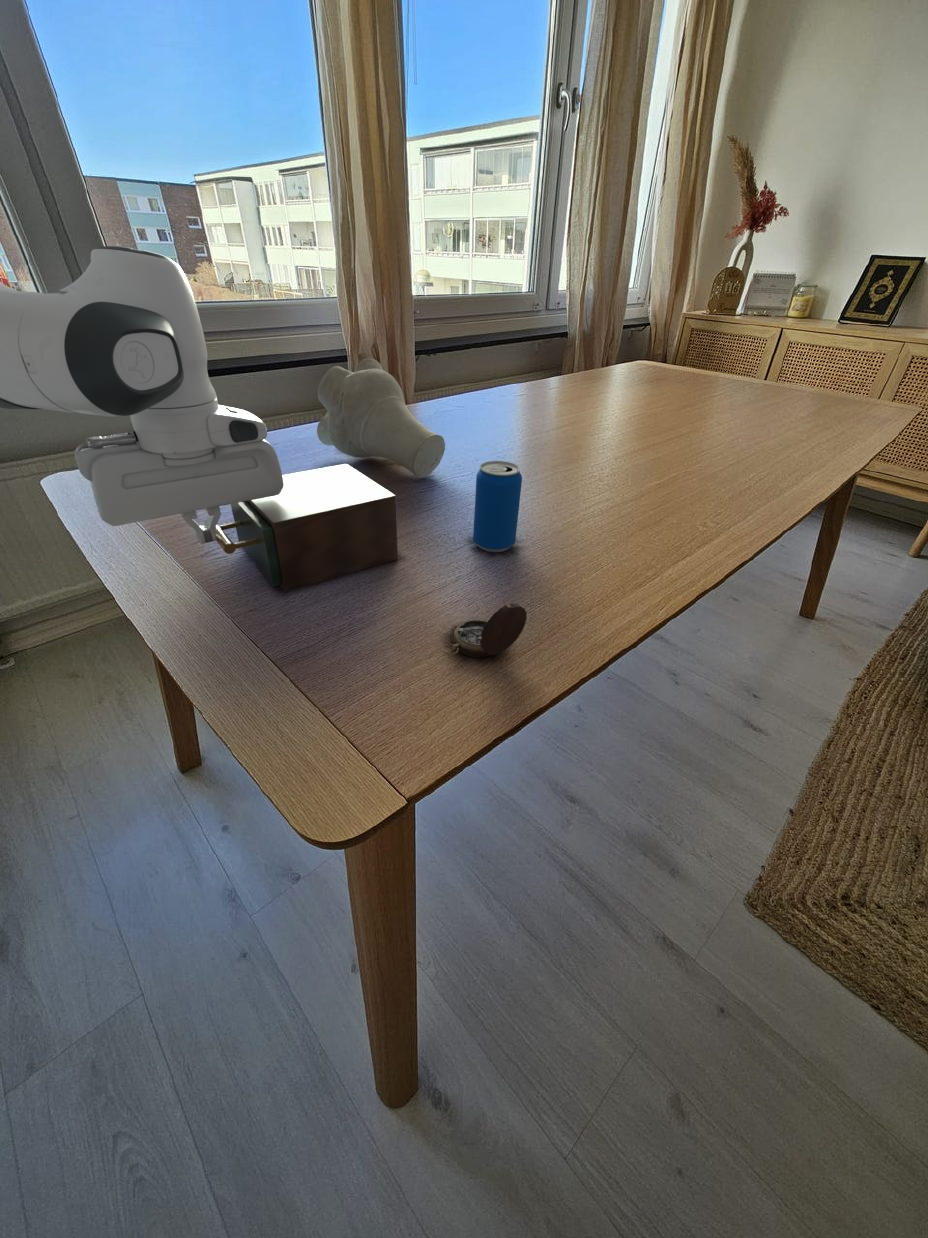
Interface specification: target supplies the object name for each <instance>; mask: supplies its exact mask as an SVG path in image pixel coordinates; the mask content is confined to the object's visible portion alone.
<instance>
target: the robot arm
mask: <svg viewBox="0 0 928 1238" xmlns="http://www.w3.org/2000/svg"><path fill="white" fill-rule="evenodd" d="M58 291H59V292H51V293H50V292H49V293H48V292H39V291H37V292H36V291H24V290H17V289H15V288H13V287H11V286H8V285H6V284H4V283H2V282H0V408H2V409H6V410H47V411H55V412H63V413H70V414H71V413H72V414H79V415H91V416H99V417H101V416H102V417H111V418H113V417H126V416H129V418H130V421H131V425H132V427H133V431H129V432H121V433H115V434H111V435H106V436H105V435H104V436H101V435H94V436H90V437H87V438H86V439H85V440H86V441H84V442H82V443H80V444H79V445H77V447H76V448H75V450H74V460H75V463H76V465H77V469H78V471H79V473H80V474H81V476H82V477H83V478H84V479H86V480H88V481H89V482H90V485H91V492H92V495H93V499H94V502H95V507H96V509H97V512H98V514H99V515H98V516H99V517H100V519H101V521H103V522H105V523H106V524H108V525H110V526H112V527H118V526H123V525H129V524H133V523H135V524H136V523H140V522H145V521H150V520H155V519H160V518H165V517H171V516H175V515H180V516H181V518H182V519H183V520H184V522H185V523H187V524H188V526H190V527H191V528H192V529H193V530H194V531H195V534H196V538H197V540H198V542H199V544H200V545H203V544H207V543H212V542H217V537H216V533H215V529H214V528H216V525H217V524H218V523H219V521H220V518H221V514H222V513H221V508H220V507H222V506H229V505H231V504H234V503H239V502H244V501H249V500H254V499H260V498H265V497H270V496H275V495H279V494H280V492H281V491H282V489H283V487H284V482H283V476H282V475H283V472H282V471H283V470H282V468H281V463H280V461H279V458H278V454H277V452H276V449H275V448H274V445H272V444H271V443H270V442H269V441H268V440H266V438H267V436H268V429H267V426H266V423H265V422H264V421H263V420H262V419H260V418H259V417H258V416H257V415H255V414H253V413H251V412H250V411H247V410H246V409H245V410H244V409H242V408H236V407H232V406H227V405H222V404H219V401H218V396H217V393H216V390H215V388H214V386H213V385H212V382H211V380H210V379H211V378H210V376H209V373H208V357H209V355H208V348H207V344H206V339H205V333H204V330H203V326H202V321H201V317H200V313H199V310H198V306H197V302H196V300H195V297H194V293H193V291H192V288H191V286H190V283H189V281H188V279H187V276H186V275H185V273H184V271H183V269H182V267H181V266H180V265H179V264H178V263H177V262H175V261H174V260H173V259H171V258H170V257H168V256H165V255H163V254H161V253H158V252H154V251H149V250H146V249H138V248H137V249H136V248H132V247H127V246H118V245H117V246H115V245H103V246H99V247H95V248H93V249H92V250H91V251H90V262H89V264H88V266H87V268H86V269H85V271H84V272H83V273H82V274H81V275H80V276H79V277H78V278H77V279H76V280H75V281H73V282H71V283H70V284H69V285H67V286H65V287H63V288H61V289H59V290H58ZM86 447H88V448H86ZM201 510H204V511H205V513H206V514H207V516H206V518H205V522H204V524H199V523H198V522H197V521H196V520H197V519H198V515H197V511H201Z"/></svg>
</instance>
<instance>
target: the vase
mask: <svg viewBox="0 0 928 1238" xmlns="http://www.w3.org/2000/svg"><path fill="white" fill-rule="evenodd" d="M404 396H405V395H404V393H403V390H402V388H401V386H400V384H399V382H398V381H397V380H396V379H395V377H394V376H393V375H391V374H390V373H389V372H388V371H386V370H384V369H383V368H382V365H381V363H379V362H378V360H377V359H374V358H364V359H361V361H359V362H358V363H357V365H356V366H355V369H354V371H350V370H348V369H345V368H343V367H342V366H339V365H336V366H331V368H329V369H328V370H327V371H326V372H325V374H324V375H323V377H322V378H321V380H320V382H319V385H318V388H317V399H318V401H319V403H320V404H321V405H322V406H323V407H324V408H325V410H326V411H327V413H326V414H325V415H324V416H323V417H322V418H321V419H320V420H319V422H318V423H317V427H316V435H317V437H318V439H319V441H320V442H321V444H323V445H324V446H327V447H334V448H336V450H338V451H339V452H340V453H342V454H344V455H347V456H350V457H353V458H359V459H360V458H361V459H363V458H371V457H376V458H383V459H387V460H390V461H392V462H394V463H396V464H398V465H399V466H401V467H403V468H405V469H406V470H407V471H409V472H410V473H411V474H413V475H414V476H415V477H417V478H418V479H422V478H426V477H428V476H430V475H431V474H432V473H433V472H434V471H435V469H437V467H438V466H439V465H440V463H441V461H442V459H443V457H444V453H445V451H446V450H445V449H446V442H445V439H444V437H443V436H442V435H440V434H438V433H436V432H434V431H432V430H430V429H429V428H428V427H426V426H425V425H423V424H422V423H421V422H419V421H418V419H416V418H415V417H414V416H413V414H412V413H411V412H410V411H409V409H408V407H407V403H406V402H405V397H404Z"/></svg>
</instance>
